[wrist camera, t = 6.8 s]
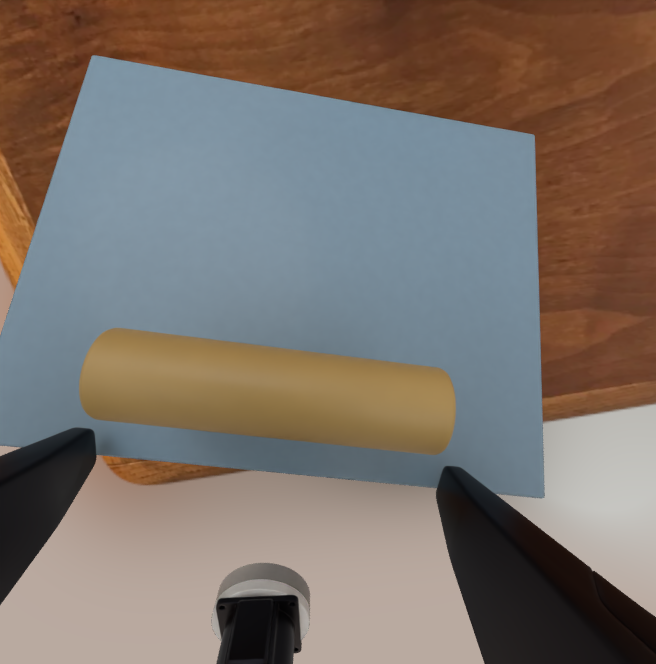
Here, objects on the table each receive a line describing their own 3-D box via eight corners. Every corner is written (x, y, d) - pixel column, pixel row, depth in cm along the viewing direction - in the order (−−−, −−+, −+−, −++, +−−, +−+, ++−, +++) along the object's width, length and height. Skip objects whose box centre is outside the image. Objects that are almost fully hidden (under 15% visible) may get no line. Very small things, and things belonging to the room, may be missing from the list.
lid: (527, 492, 11) (738, 568, 6) (-10, 439, 10) (-351, 475, 4) (521, 149, 13) (660, -6, 8) (103, 75, 12) (-29, -157, 7)
